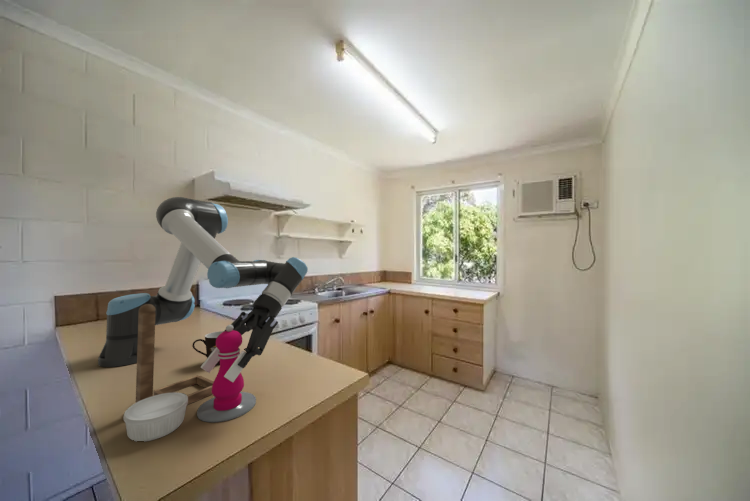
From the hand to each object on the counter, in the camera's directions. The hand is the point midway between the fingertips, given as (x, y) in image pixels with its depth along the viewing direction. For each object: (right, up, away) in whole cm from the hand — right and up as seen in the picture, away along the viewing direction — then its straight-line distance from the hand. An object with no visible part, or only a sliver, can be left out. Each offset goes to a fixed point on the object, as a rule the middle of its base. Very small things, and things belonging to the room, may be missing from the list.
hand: (216, 374), depth 66 cm
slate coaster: (+2, -9, +2) cm, 10 cm away
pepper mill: (+1, -9, +2) cm, 9 cm away
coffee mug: (-19, -10, +31) cm, 38 cm away
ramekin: (-9, -9, -6) cm, 15 cm away
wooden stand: (-15, -9, +6) cm, 18 cm away
